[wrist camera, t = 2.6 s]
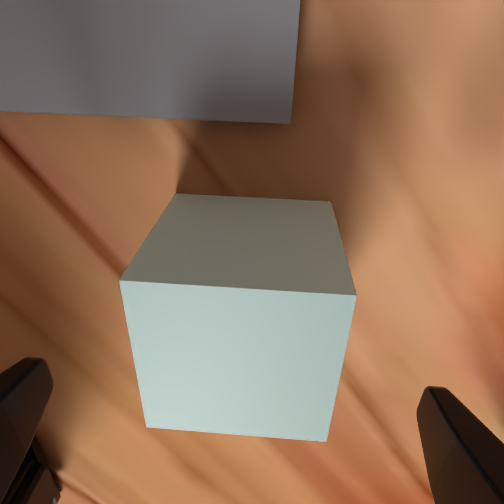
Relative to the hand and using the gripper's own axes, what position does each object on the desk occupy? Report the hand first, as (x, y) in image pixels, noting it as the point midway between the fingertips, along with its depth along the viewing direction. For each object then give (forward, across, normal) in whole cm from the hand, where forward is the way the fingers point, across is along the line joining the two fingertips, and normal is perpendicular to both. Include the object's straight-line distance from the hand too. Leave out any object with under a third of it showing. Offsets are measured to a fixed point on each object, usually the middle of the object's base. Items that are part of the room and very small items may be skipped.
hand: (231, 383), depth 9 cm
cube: (+5, 0, 0) cm, 5 cm away
